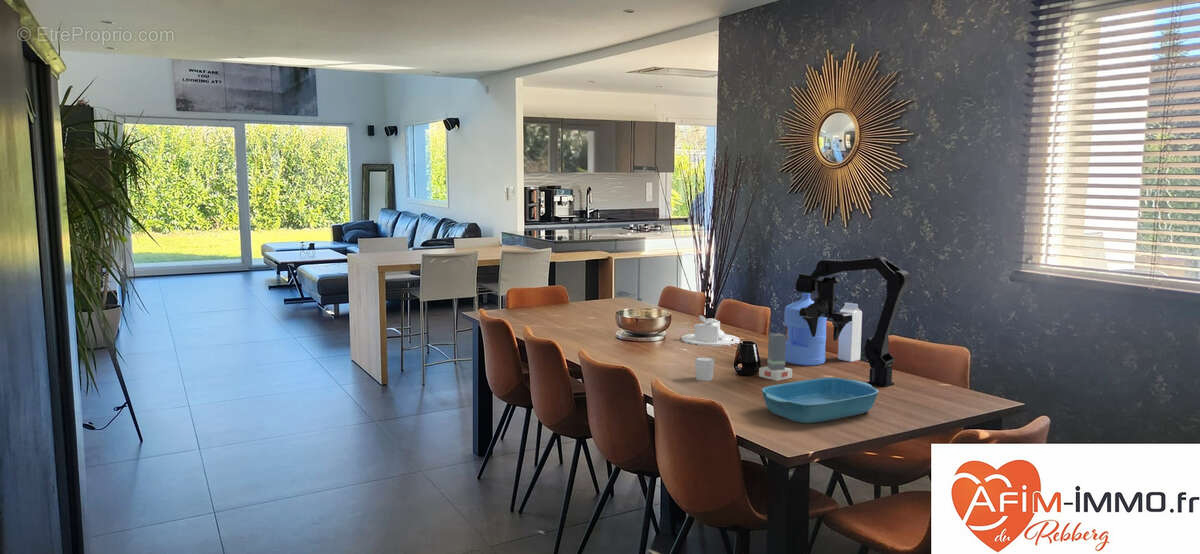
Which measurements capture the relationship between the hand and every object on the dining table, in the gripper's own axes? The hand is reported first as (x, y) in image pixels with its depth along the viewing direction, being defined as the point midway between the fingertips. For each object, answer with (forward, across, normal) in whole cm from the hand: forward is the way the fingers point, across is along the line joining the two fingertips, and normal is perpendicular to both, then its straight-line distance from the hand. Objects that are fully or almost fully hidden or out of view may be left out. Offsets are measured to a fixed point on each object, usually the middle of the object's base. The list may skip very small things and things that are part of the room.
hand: (824, 338), depth 287 cm
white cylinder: (+13, -21, -38) cm, 45 cm away
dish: (+14, -69, +13) cm, 72 cm away
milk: (+13, -10, +29) cm, 33 cm away
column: (+10, -8, -16) cm, 20 cm away
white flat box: (+13, -8, -16) cm, 22 cm away
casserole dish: (+14, +29, -39) cm, 50 cm away
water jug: (+13, -18, +12) cm, 25 cm away
